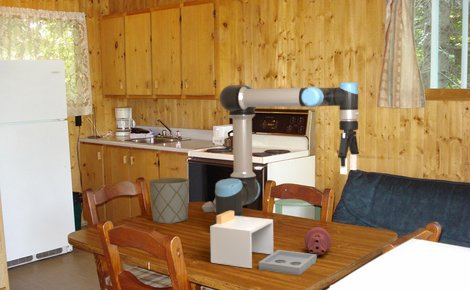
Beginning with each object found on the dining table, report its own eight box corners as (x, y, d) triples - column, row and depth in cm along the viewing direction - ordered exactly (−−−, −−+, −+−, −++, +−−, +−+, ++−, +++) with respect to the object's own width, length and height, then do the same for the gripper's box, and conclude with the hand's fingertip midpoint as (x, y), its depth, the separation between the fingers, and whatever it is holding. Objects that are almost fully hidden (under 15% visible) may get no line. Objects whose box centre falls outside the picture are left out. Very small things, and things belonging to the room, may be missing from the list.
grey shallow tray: (258, 269, 186) (258, 262, 186) (278, 256, 201) (278, 249, 201) (299, 275, 179) (299, 267, 179) (316, 261, 194) (316, 254, 194)
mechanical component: (330, 261, 195) (330, 235, 194) (303, 260, 197) (302, 234, 196) (331, 249, 207) (331, 224, 206) (305, 248, 209) (305, 223, 208)
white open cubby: (210, 262, 194) (210, 218, 192) (235, 249, 210) (235, 208, 209) (250, 268, 186) (250, 222, 185) (273, 253, 203) (272, 211, 202)
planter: (169, 215, 276) (168, 176, 275) (197, 219, 265) (196, 179, 263) (142, 222, 261) (141, 181, 259) (171, 227, 250) (170, 184, 248)
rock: (229, 217, 269) (228, 198, 268) (196, 213, 280) (196, 195, 279) (247, 211, 284) (247, 192, 284) (216, 207, 295) (216, 190, 294)
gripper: (348, 121, 207) (348, 176, 208) (365, 119, 229) (365, 168, 230) (330, 121, 210) (330, 175, 212) (348, 119, 232) (348, 167, 234)
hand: (348, 172), depth 221 cm, fingers open, 13 cm apart
